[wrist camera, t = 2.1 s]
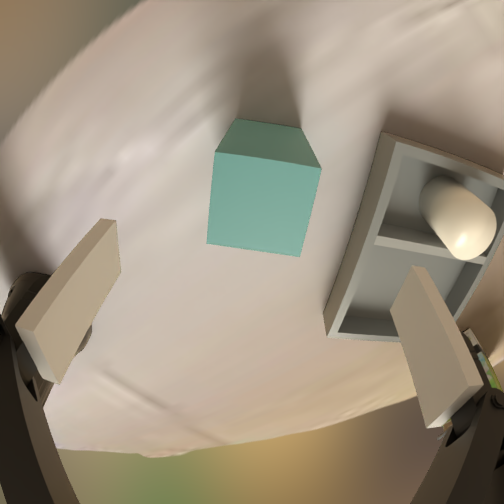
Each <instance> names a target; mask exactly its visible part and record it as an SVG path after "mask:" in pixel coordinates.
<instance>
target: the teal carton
mask: <svg viewBox="0 0 504 504" xmlns="http://www.w3.org/2000/svg"><path fill="white" fill-rule="evenodd" d="M321 170H322V168H321V166H320V164H319V162H318V160H317V158H316V156H315V154H314V152H313V150H312V148H311V146H310V144H309V142H308V140H307V139H306V137H305V135H304V133H303V131H302V129H300V128H295V127H289V126H283V125H277V124H271V123H265V122H258V121H251V120H244V119H235V120H234V122H233V123H232V125H231V126H230V128H229V130H228V131H227V133H226V135H225V136H224V138H223V139H222V141H221V143H220V144H219V146H218V148H217V149H216V151H215V156H214V165H213V175H212V185H211V196H210V207H209V219H208V231H207V244H213V245H220V246H227V247H234V248H241V249H248V250H254V251H261V252H268V253H275V254H282V255H289V256H296V257H300V254H301V251H302V247H303V243H304V239H305V235H306V231H307V227H308V223H309V219H310V215H311V211H312V207H313V203H314V199H315V195H316V191H317V187H318V182H319V178H320V174H321Z"/></svg>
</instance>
